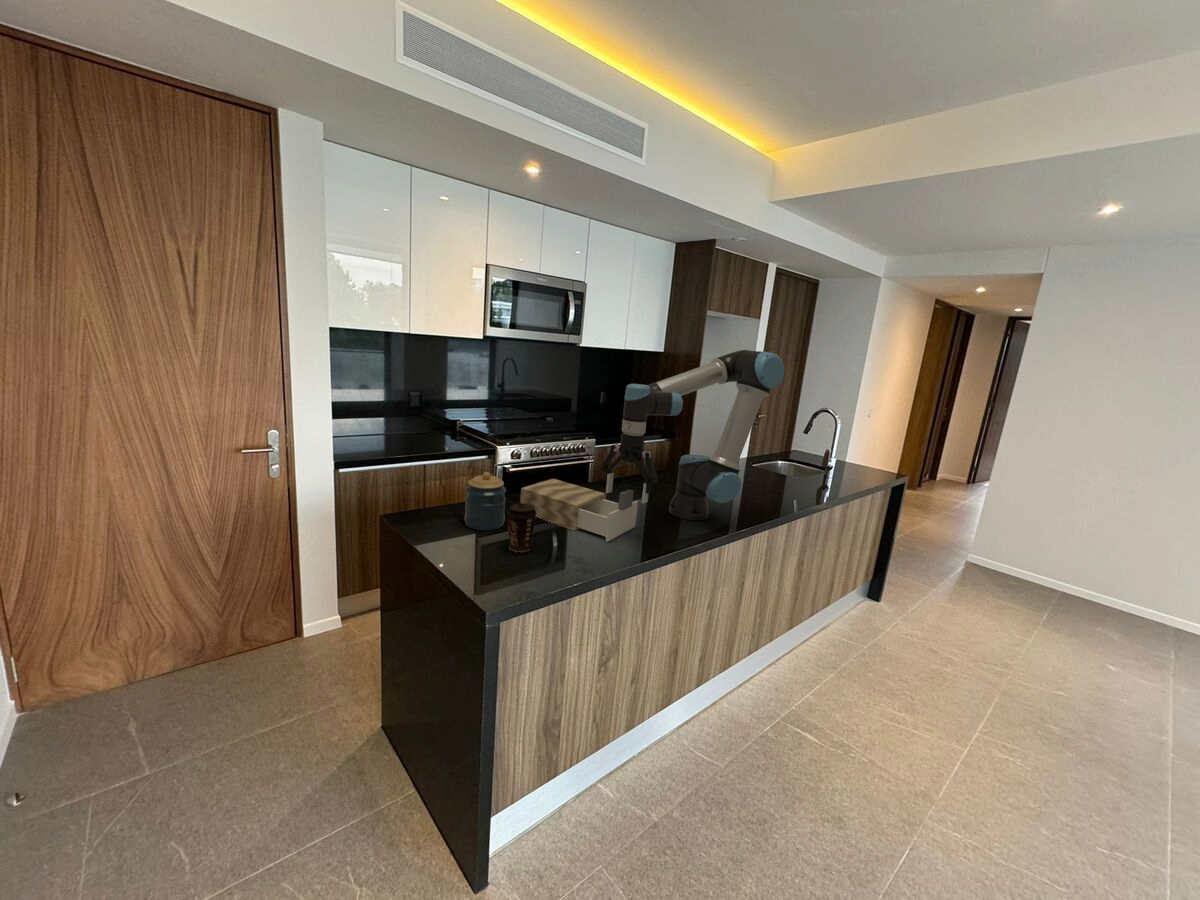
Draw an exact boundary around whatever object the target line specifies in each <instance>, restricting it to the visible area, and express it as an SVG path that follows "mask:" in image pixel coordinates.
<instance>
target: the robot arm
mask: <svg viewBox="0 0 1200 900" xmlns="http://www.w3.org/2000/svg"><path fill="white" fill-rule="evenodd" d="M783 362H784V361H783V360H782V358H781V357H780V356H779V355H777V354H776V353H773V352H769V351H761V350H760V351H759V350H758V351H757V350H751V349H750V350H749V349H748V350H747V349H740V350H736V351H733V352H729V353H727V354H725V355H721V356H718V357H715V358H713V359H712V360H711V361H710V362H709V363H708V364H705V365H704V364H703V365H701V366H699V367H696V368H693V369H690V370H688V371H684V372H682V373H678V374H676V375H673V376H670V377H667V378H664V379H662V380H659V381H656V382H653V383H650V384H642V383H641V384H639V383H630V384H627V385H626V388H625V394H624V398H623V400H624V403H623V413H622V424H621V431H622V433H620V445H619V444H618V443H616V444H611V447H610V451H609V453H608V454H607V456H606V457H605V459H604V462H603V463H602V464H601V466H600V471H604V473H605V475H604V476H605V477H604V483H606V484H605V485H606V487H605V489H606V490H605V494H609V493H612V492H613V485H614V476H615V473H614V472H613V471H614V470H615V469H616V468H617V467H619V465H620V464H621V463H622V462H623V461H624V462H626V463H627V462H629V463H631V464H635V466H636V467H637V468H638V470H639V472H640V475H641V476H642V478H643V479H644V481H645V482H644V483H643V486H642V487H643V488H642V496H641V504H646V503H648V500H649V494H651V493H652V486H653V484H656V483H658V482H659V477H658V475H657V474H658V473H657V471H656V467H655V464H654V461H653V452H652V451H645V450H644V445H645V434H646V429H647V428H646V427H647V420H648V416H665V417H666V416H668V417H670V416H678V415H679V414H680V413H681V412H682V410H683V406H684V405H683V404H684V400H683V396H685V395H688V394H691V393H693V392H696V391H699V390H701V389H705V388H707V387H710V386H713V385H716V384H718V385H723V384H726V383H727V384H728V383H730V382H731V383H735V386H736V388H737V394H736V397H735V399H734V402H733V403H732V407H731V410H730V412H729V414H728V415H729V416H728V417H727V420H726V422H725V425H724V428H723V430H722V434H721V436H720V439H719V441H718V444H717V447H716V449H715V451H714V454H713V455H711V456H709V455H703V454H684V455H682V456H681V457H680V460H679V464H678V472H677V478H676V479H677V482H676V486H675V487H676V490H675V493H674V495H673V498H672V499H671V501H670V503H669V507H668V513H670V515H672V516H674V517H676V518H679V519H683V520H688V521H704V520H706V519H708V518H709V516H710V515H709V514H710V509H709V503H708V499H709V500H710V501H713V502H715V503H718V504H725V503H729V502H730V501H733V500H734V499H735V498H736V497H737V496H738V494H739V493H740V491H741V488H742V481H741V480H742V479H741V478H740V476H739V473H740V471H741V468H740V466H739V460H740V459H741V456H742V453H743V452H744V451H743V450H744V448H745V445H746V443H747V440H748V438H749V435H750V432H751V430H752V427H753V426H754V422H755V420H756V417H757V414H758V412H759V409H760V407H761V405H762V401H763V400H764V399H765V398H767V397H768V396H769V395H770V393H771V391H772V389H774V388H775V389H776V388H777V387H778V386H780V384H781V383H782V382H783V381H784V378H785V365H784V363H783ZM617 452H619V454H620V455H618V456H617V457H616V459H615V460H614V461H613V459H614V458H615V456H616V454H617ZM642 457H643V458H644V459H643V458H642ZM612 461H613V462H612ZM644 461H645V462H644Z"/></svg>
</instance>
